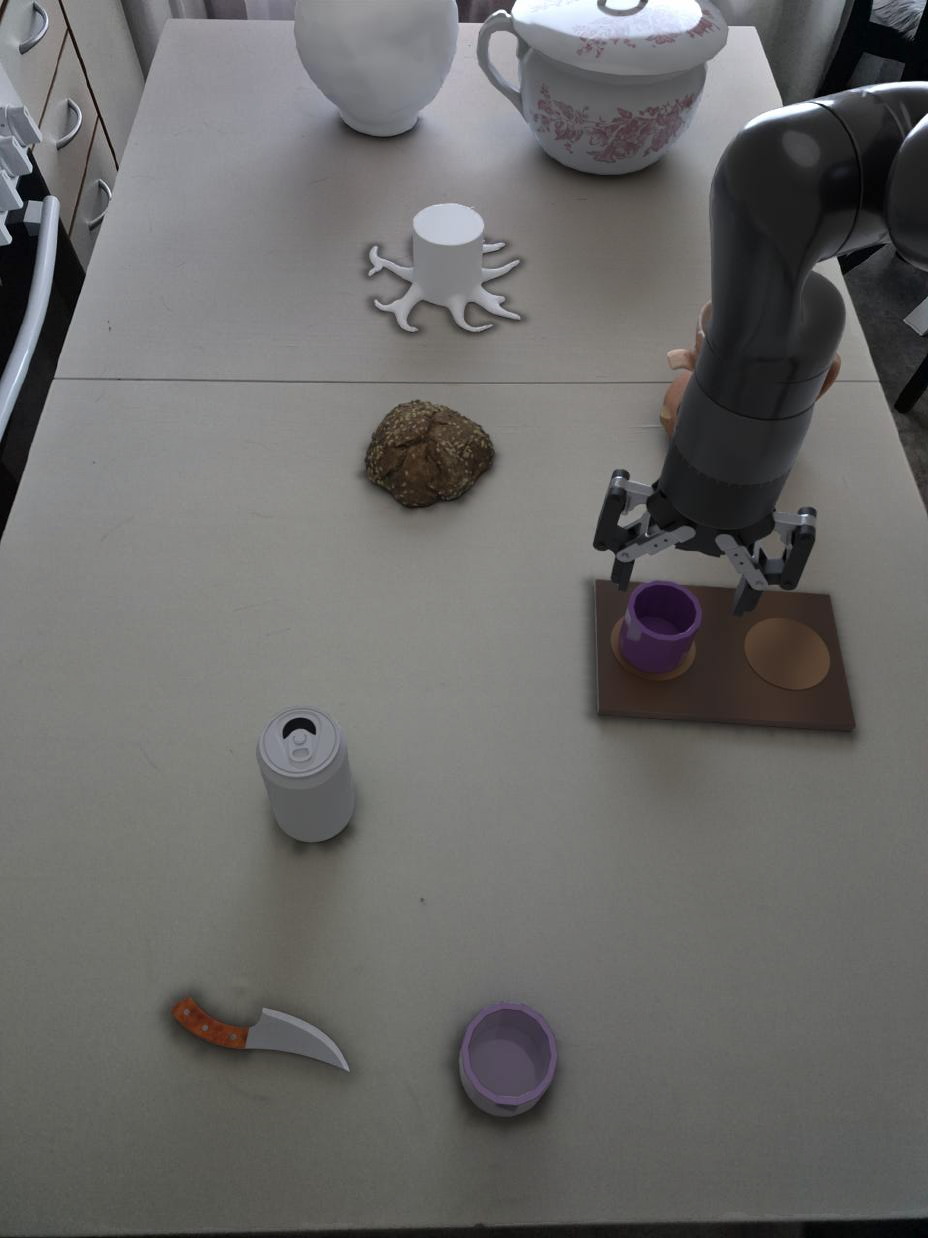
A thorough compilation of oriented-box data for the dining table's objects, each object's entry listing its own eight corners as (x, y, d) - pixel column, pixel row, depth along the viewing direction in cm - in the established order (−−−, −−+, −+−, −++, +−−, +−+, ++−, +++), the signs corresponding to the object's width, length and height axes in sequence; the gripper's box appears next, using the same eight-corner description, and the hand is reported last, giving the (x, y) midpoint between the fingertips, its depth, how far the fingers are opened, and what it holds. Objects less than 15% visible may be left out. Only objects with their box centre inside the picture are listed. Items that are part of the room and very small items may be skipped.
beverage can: (350, 766, 79) (340, 693, 70) (359, 840, 76) (349, 774, 66) (272, 777, 79) (251, 705, 69) (277, 852, 75) (255, 787, 65)
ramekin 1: (563, 1096, 66) (573, 1082, 62) (477, 1132, 65) (481, 1121, 60) (528, 1006, 69) (535, 987, 65) (445, 1039, 68) (447, 1022, 63)
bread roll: (406, 403, 104) (406, 367, 100) (507, 446, 101) (510, 411, 97) (339, 477, 98) (336, 442, 94) (445, 526, 94) (445, 492, 90)
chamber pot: (736, 150, 135) (782, -14, 118) (615, 229, 123) (646, 60, 106) (583, 75, 146) (604, -85, 129) (457, 142, 134) (463, -24, 117)
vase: (277, 123, 135) (244, -137, 110) (381, 68, 145) (373, -182, 120) (374, 174, 129) (363, -90, 104) (477, 113, 138) (488, -141, 114)
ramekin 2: (700, 662, 85) (715, 627, 81) (636, 682, 84) (648, 649, 79) (667, 607, 88) (680, 572, 84) (605, 626, 87) (615, 591, 83)
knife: (360, 1029, 67) (348, 1074, 66) (360, 1031, 68) (349, 1076, 66) (179, 987, 68) (163, 1031, 67) (180, 989, 69) (165, 1033, 67)
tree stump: (536, 246, 121) (543, 186, 114) (514, 347, 110) (520, 286, 103) (380, 225, 122) (378, 164, 116) (343, 322, 111) (338, 261, 105)
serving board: (826, 600, 91) (830, 593, 90) (852, 731, 83) (856, 725, 82) (593, 584, 91) (595, 577, 90) (597, 715, 83) (599, 708, 82)
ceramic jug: (658, 488, 98) (690, 381, 87) (635, 390, 106) (661, 280, 95) (829, 485, 99) (884, 379, 88) (794, 388, 108) (839, 279, 96)
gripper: (610, 455, 57) (577, 614, 71) (854, 503, 56) (773, 656, 69) (629, 374, 62) (594, 538, 75) (856, 416, 60) (779, 576, 73)
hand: (680, 594), depth 72 cm, fingers open, 8 cm apart
